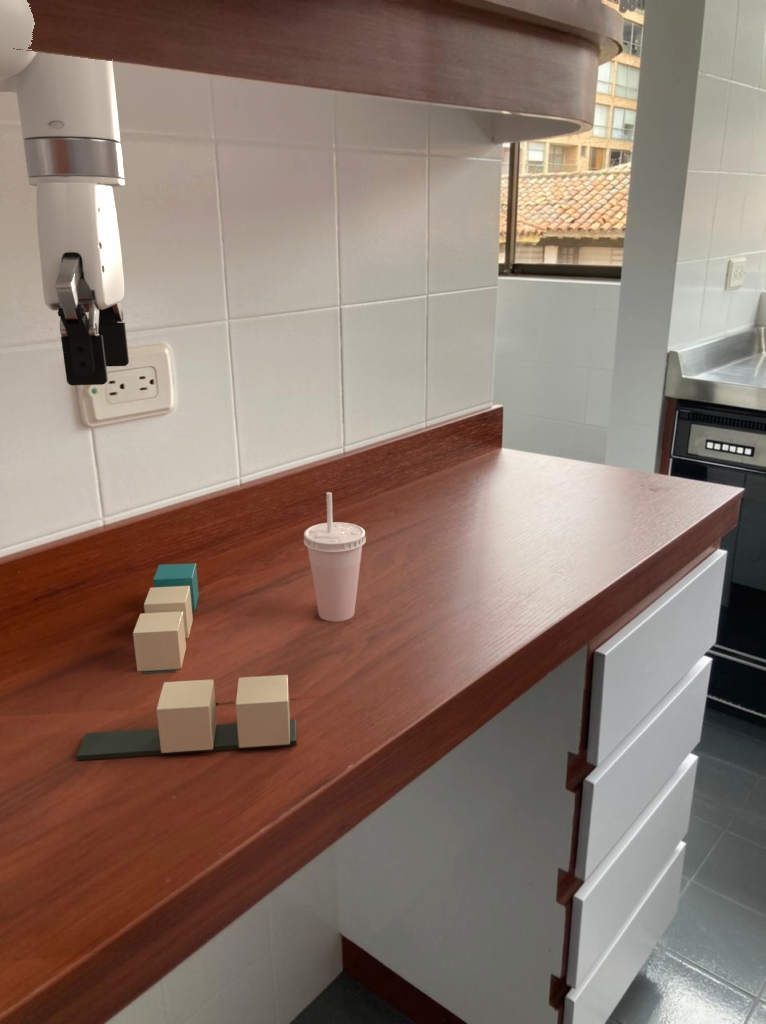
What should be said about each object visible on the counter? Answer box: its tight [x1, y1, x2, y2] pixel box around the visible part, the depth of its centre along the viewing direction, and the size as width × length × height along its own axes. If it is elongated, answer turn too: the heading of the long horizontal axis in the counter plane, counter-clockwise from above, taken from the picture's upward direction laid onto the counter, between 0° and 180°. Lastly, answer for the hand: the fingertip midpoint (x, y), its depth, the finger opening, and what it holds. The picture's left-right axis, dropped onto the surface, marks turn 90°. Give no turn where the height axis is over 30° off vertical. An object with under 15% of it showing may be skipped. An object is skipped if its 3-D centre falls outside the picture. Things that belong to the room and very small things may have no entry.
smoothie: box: [303, 491, 367, 622], centre depth 85 cm, size 6×6×14 cm
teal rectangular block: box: [152, 562, 200, 613], centre depth 88 cm, size 4×4×4 cm
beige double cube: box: [132, 586, 194, 675], centre depth 82 cm, size 4×17×4 cm, turn 6°
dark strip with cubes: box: [76, 674, 297, 762], centre depth 65 cm, size 17×4×4 cm, turn 96°
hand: (100, 374), depth 73 cm, fingers open, 9 cm apart
